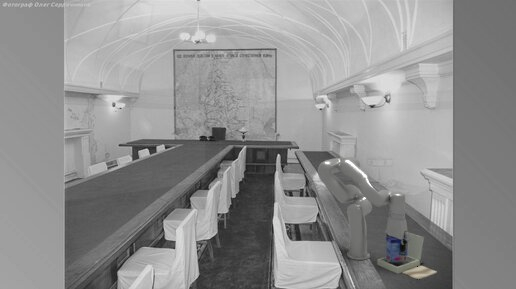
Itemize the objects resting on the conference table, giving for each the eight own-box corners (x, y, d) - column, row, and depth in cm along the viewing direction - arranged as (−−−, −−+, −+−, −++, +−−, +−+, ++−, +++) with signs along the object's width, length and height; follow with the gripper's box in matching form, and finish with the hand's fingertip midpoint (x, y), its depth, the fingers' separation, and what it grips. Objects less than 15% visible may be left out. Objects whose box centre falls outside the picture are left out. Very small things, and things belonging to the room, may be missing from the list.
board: (402, 273, 177) (402, 272, 177) (421, 266, 184) (420, 265, 184) (418, 280, 169) (418, 278, 169) (436, 272, 176) (436, 271, 176)
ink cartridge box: (391, 262, 183) (390, 235, 182) (385, 258, 189) (385, 231, 188) (408, 260, 185) (408, 233, 184) (402, 256, 190) (402, 230, 190)
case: (377, 264, 188) (377, 238, 187) (403, 256, 198) (403, 230, 197) (397, 273, 177) (397, 245, 176) (424, 263, 187) (424, 236, 186)
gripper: (379, 213, 191) (379, 245, 192) (406, 221, 175) (406, 256, 177) (389, 210, 194) (388, 242, 196) (416, 218, 179) (416, 252, 181)
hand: (397, 248), depth 187 cm, fingers closed on ink cartridge box, 6 cm apart
